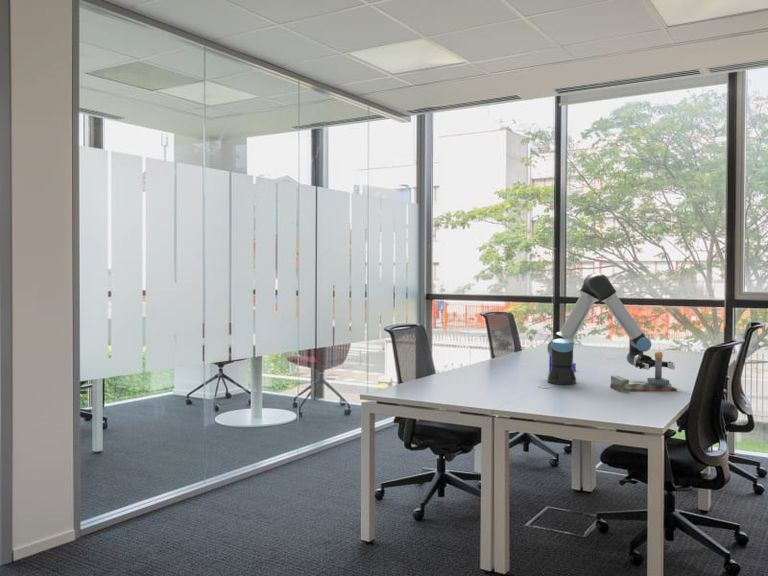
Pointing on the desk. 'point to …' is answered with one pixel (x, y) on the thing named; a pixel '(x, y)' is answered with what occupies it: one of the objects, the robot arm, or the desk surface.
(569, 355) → the robot arm
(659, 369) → the lever
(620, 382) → the track bed
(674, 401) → the desk surface
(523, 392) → the desk surface
